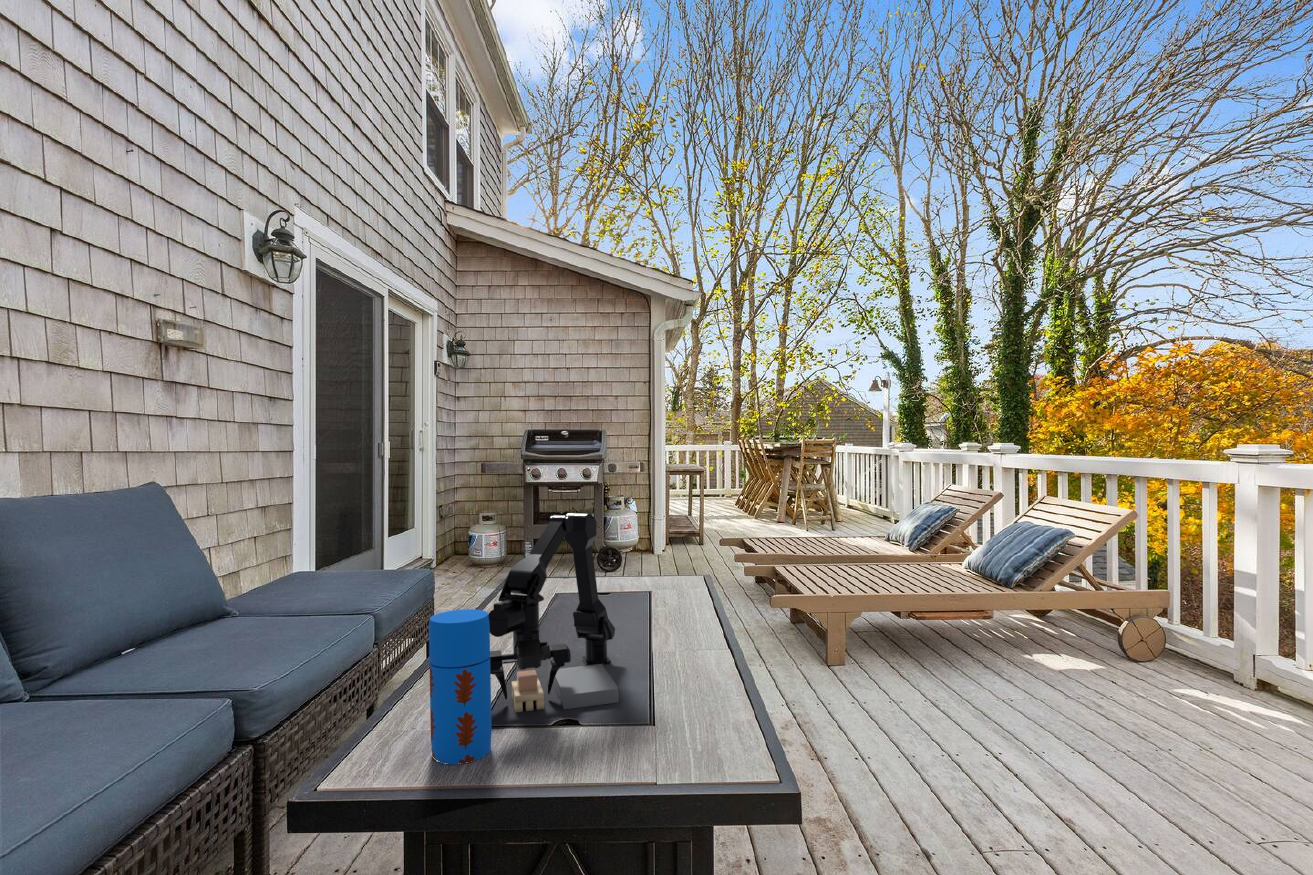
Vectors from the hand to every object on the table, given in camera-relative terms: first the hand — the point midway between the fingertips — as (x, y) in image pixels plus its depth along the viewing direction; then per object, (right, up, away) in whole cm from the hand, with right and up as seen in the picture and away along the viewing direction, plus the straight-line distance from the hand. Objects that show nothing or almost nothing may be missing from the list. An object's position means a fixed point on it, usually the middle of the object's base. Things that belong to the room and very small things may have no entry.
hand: (527, 696), depth 149 cm
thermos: (-8, -1, -24) cm, 25 cm away
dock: (+12, -1, +6) cm, 13 cm away
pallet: (0, -2, 0) cm, 2 cm away
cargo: (0, +2, 0) cm, 2 cm away
